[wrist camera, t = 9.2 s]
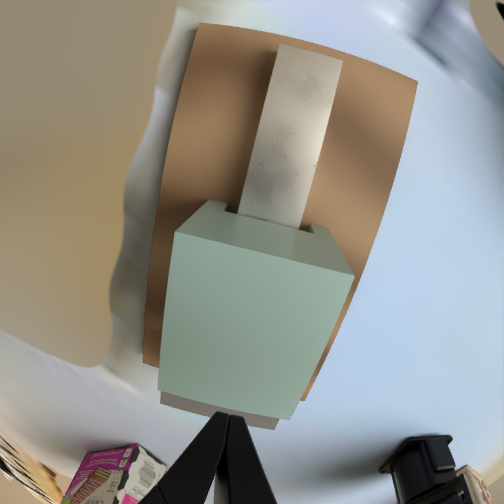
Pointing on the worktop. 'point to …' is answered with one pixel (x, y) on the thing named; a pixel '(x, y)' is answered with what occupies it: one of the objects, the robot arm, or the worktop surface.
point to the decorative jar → (476, 485)
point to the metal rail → (290, 136)
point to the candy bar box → (115, 477)
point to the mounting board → (242, 142)
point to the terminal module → (248, 310)
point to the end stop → (211, 409)
